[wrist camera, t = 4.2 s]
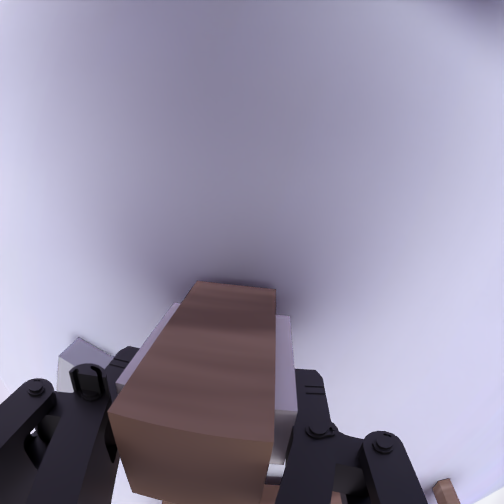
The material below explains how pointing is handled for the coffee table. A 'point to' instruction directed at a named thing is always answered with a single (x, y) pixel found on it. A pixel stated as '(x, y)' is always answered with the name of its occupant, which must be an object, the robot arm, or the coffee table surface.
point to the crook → (204, 402)
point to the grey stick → (78, 361)
